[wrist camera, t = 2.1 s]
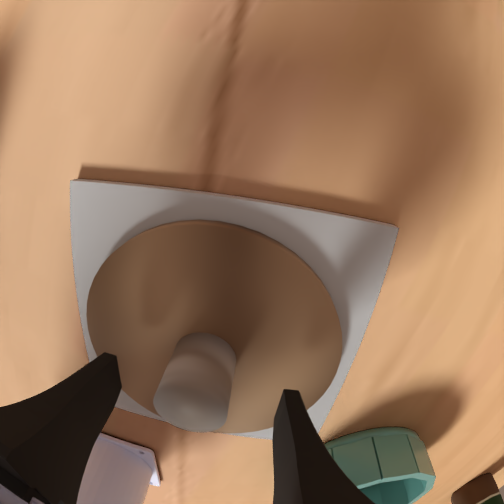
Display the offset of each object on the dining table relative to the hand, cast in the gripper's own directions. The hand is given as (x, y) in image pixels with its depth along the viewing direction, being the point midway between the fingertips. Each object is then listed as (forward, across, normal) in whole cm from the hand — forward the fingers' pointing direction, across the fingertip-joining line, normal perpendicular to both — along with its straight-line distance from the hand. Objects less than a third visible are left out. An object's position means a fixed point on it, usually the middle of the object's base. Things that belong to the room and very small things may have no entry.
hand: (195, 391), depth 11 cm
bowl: (+4, -13, +12) cm, 18 cm away
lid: (+3, 0, 0) cm, 3 cm away
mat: (+4, 0, 0) cm, 4 cm away
